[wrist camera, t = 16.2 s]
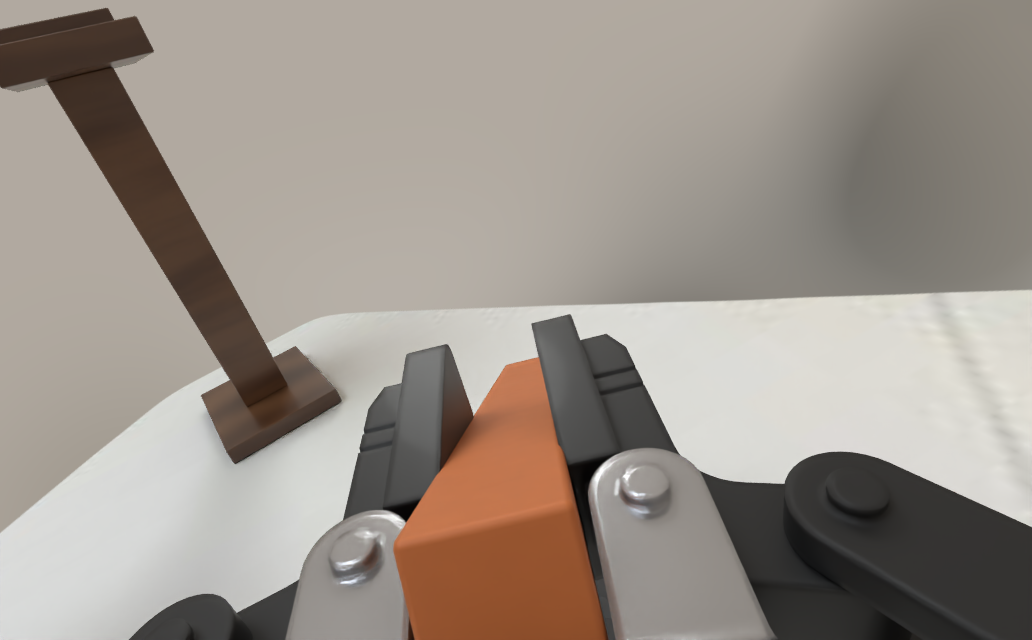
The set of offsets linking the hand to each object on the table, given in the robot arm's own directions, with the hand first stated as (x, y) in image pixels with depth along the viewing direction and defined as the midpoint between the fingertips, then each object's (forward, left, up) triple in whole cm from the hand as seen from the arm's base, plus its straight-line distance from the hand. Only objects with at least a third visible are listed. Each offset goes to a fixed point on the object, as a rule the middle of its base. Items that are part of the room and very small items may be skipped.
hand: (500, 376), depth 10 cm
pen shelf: (+13, +41, -23) cm, 49 cm away
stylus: (+1, +1, -4) cm, 4 cm away
